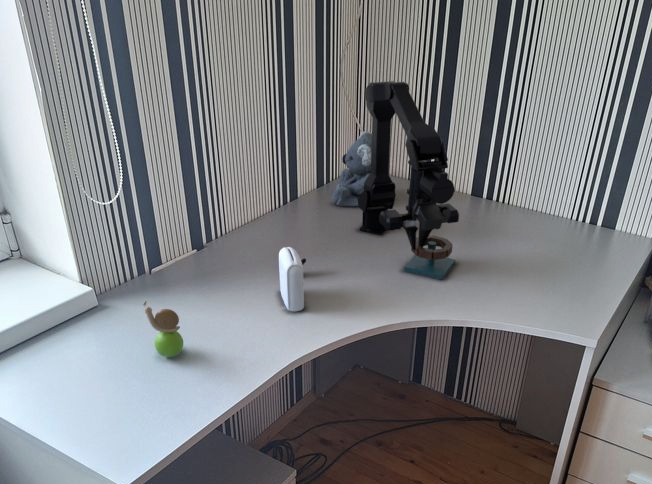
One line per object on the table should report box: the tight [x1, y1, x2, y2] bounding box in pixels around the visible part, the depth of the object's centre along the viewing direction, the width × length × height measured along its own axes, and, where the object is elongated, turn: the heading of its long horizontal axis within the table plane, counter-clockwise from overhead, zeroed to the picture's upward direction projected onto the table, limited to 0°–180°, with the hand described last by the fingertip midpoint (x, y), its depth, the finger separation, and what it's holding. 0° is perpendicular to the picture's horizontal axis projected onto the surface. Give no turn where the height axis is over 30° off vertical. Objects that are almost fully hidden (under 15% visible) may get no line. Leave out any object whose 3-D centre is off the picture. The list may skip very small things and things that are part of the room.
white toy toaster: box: [278, 246, 305, 313], centre depth 153 cm, size 10×4×12 cm, turn 17°
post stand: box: [403, 241, 456, 281], centre depth 171 cm, size 10×10×7 cm
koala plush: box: [331, 129, 372, 208], centre depth 206 cm, size 17×18×20 cm
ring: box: [410, 234, 454, 260], centre depth 170 cm, size 10×10×2 cm
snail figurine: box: [142, 300, 184, 358], centre depth 133 cm, size 5×6×12 cm
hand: (416, 249), depth 169 cm, fingers closed on ring, 2 cm apart
